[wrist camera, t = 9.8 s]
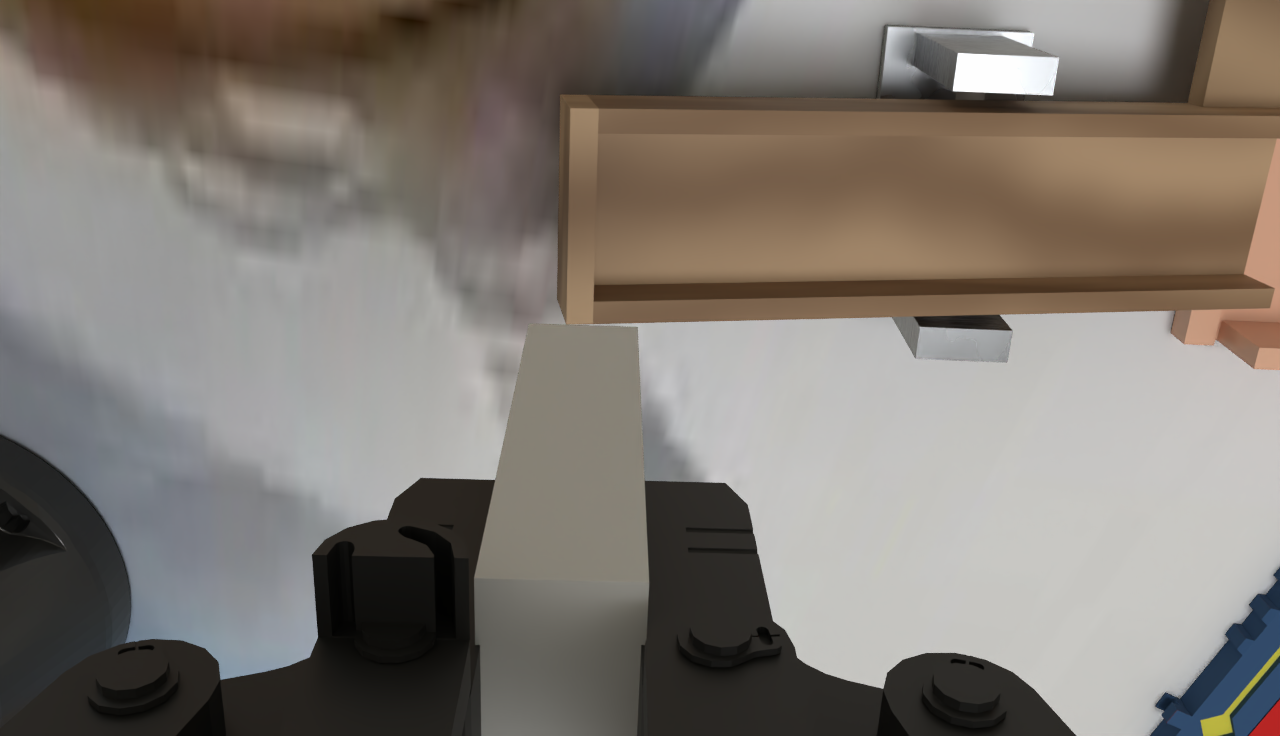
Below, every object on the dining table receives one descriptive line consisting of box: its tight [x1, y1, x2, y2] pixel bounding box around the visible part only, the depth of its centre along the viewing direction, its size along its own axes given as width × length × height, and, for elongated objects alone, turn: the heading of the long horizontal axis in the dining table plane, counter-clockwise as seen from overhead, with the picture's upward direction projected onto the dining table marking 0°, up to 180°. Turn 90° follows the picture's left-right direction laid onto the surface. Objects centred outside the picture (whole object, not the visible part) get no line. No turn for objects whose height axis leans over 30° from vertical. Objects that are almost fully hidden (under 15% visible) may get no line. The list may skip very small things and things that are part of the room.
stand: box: [877, 25, 1059, 362], centre depth 39 cm, size 10×5×6 cm, turn 178°
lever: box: [557, 0, 1280, 325], centre depth 36 cm, size 15×24×3 cm, turn 88°
